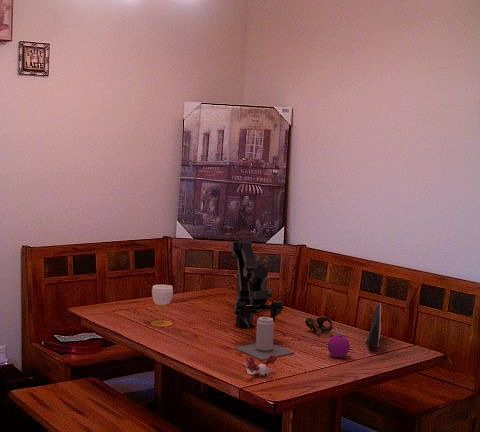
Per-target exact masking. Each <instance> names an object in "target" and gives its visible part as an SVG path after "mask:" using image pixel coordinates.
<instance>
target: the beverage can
mask: <svg viewBox="0 0 480 432" xmlns="http://www.w3.org/2000/svg"><path fill="white" fill-rule="evenodd" d="M274 325H275V322H273V318H270V317H269V316H259V317H258V318H257V320H256V333H255V334H256V335H255V337H256V339H255V343H256V348H257V349H258V350H259V351H263V352H268V351H270V350H272V349H273V344H274V333H275V332H274V331H275V330H274V328H275V326H274Z"/></svg>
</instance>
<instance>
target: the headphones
mask: <svg viewBox="0 0 480 432" xmlns="http://www.w3.org/2000/svg"><path fill="white" fill-rule="evenodd" d="M324 322H328V323H329V326H326V325H324ZM304 323H305V326H307V327H308V329H309V330H310V331H312V332H314V331H316V333H315V335H316V336H317V337H320V336H321V335H325V334H329V333H331V332H332V331H333V329H334V326H333V321H332V320H331V318H329V317H327V316H324V315H320V316H317V317H316V318H315V319H314V318H312V317H306V319H305V321H304Z"/></svg>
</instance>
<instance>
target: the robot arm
mask: <svg viewBox="0 0 480 432" xmlns="http://www.w3.org/2000/svg"><path fill="white" fill-rule="evenodd" d="M252 246H253V243H252V240H250V239H240V240H235V241H234V240H233V241H232V242H231V244H230V251H231V253H232V257H233V258H234V259H235V261H236V262H237V263H236V264H237V266H236V267H237V274H238V275H239V285H240V293H239V295H238V297H237V296H236V301H235V304H234V306H233V312H234V315H236V316H235V318H236V319H235V323H234V326H236V327H238V328H241V329H250V328H255V327H256V326H255V325H254V324H253V323H254V322H253V321H254V314H256V313H257V312H256V311H257V310H263V311H269V312H270V318H273V322H274V323H275V322H276V321H275V320H276V316H278V315H280V314H281V313H282V311H283V309H284V304H283V302H282V301H278V300H277V301H272V302H271V304H267V303H268V299H270V298H272V297H273V290H272V289H271V288H266V291H263V286H262V285H263V284H264V282H265V280H266V277H267V276H269V275H268V274H269V273H268V269H266V268H265V267H263V266H262V264H261V263H260V261H258V260H257V259H256V257H255V253H254V250H253V247H252Z"/></svg>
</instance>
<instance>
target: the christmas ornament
mask: <svg viewBox="0 0 480 432" xmlns="http://www.w3.org/2000/svg"><path fill="white" fill-rule="evenodd" d="M350 345H351V344H350V341H349V340H348V339H347V338H346V337H345V336H343V333H342V332H341V331H340V330H339V331H338V332H337V333H336V335H333V336H332V337H331V338H329V340H328V342H327V350H328V352H329V354H330V355H331V356H333V357H335V358H338V357H339V358H343V357H345V356H347V355H348V354H349V352H350V349H351V346H350Z"/></svg>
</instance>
